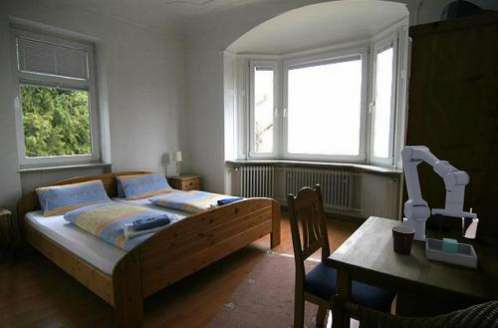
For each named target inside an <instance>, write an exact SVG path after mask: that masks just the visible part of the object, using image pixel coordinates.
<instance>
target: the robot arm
mask: <svg viewBox="0 0 498 328" xmlns="http://www.w3.org/2000/svg"><path fill="white" fill-rule="evenodd" d="M400 155H401V161H402V166H403V172H404V177H405V185H406V190H407V194H408V200H407V201H405V203H404V205H403V206H404V209H403V214H404V216H405V217H403V218H402V219H403V221H402V226H405V227H409V228H412V229H414V230H415V235H414V239H413V241H414V240H415V241H421V242H426V235H425V232H426V221H428V219H429V218H430V217H431V214H432V215H434V217H435V219H436V221H437V225H438V229H439V231H438V232H439V233H442V232H443V227H442V226H443V216H445V217H446V216H448V217H455V218H461V219H462V218H464V224H463V223H462V232H461V235H462V237H464V236H465V234H466V231H467V229H468V228H469V226H470V225H471V224H472V222H473V219H474V220H476V218H477V213H473V212H471V213H470V212H467V211H463V210H464V199H465V187H466V185H468V184H469V182H470V176H469V174H468V173H467V172H466V171H464V170H459V169H458V168H456V167H454V166H453V165H452V164H450V162H449V161H447V160H440V159H438V157H436V156H435V155H434V154H433V153H432V152H431V151H430V149H429V147H427V146H425V145H411V146H410V145H405V146H404V147H403V148H402V150H401V151H400ZM423 161H424V162H426V163H427V164H429V165H430V166H432V168H433V171H434V172H435V173H436V174H438V176H440V177H441V178H442V179H443V182H444V185H445V190H446V193H445V195H446V196H445V206H444V207H445V208H432V209H431V210H430V207H429V205H428V202H427V201H426V200H424V199H423V197H422V193H421V185H420V181H419V180H420V179H419V173H418V169H417V166H418V165H419V164H420V163H422V162H423ZM477 219H478V218H477Z"/></svg>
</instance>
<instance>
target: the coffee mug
mask: <svg viewBox="0 0 498 328" xmlns="http://www.w3.org/2000/svg"><path fill="white" fill-rule="evenodd" d="M391 233H392V248H393V252H394V253H395V254H397V255H401V256H410V255H411V254H412V249H413V243H414V235H415V230H414V229H412V228H409V227H405V226H403V225H394V226H392V227H391Z"/></svg>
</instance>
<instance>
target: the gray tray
mask: <svg viewBox="0 0 498 328" xmlns="http://www.w3.org/2000/svg"><path fill="white" fill-rule="evenodd" d="M457 243H458V246H457V254H453V253H447V252H442V248H443V239H436V238H430V237H425V260H430V261H435V262H440V263H444V264H445V263H446V264H450V265H456V266H461V267H466V268H470V269H471V268H472V269H477V268H478V259H479V258H478V256H477V254H476V251H475V249H474V247H473V245H472V244H467V243H460V242H457Z"/></svg>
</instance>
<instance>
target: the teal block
mask: <svg viewBox="0 0 498 328" xmlns="http://www.w3.org/2000/svg"><path fill="white" fill-rule="evenodd" d="M442 240H443V248H442V252H447V253H453V254H457V246H458V243H459V242H458V241H457V239H453V238H445V237H443V238H442Z"/></svg>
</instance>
